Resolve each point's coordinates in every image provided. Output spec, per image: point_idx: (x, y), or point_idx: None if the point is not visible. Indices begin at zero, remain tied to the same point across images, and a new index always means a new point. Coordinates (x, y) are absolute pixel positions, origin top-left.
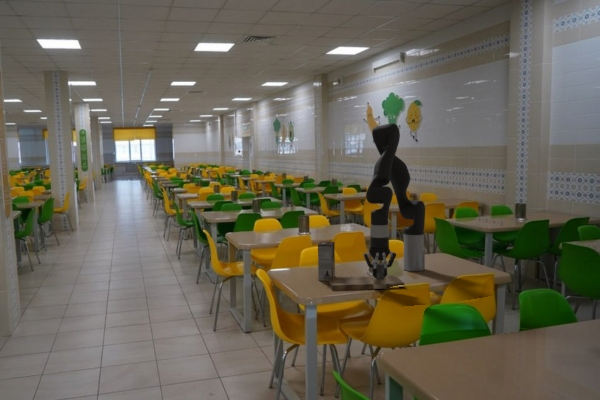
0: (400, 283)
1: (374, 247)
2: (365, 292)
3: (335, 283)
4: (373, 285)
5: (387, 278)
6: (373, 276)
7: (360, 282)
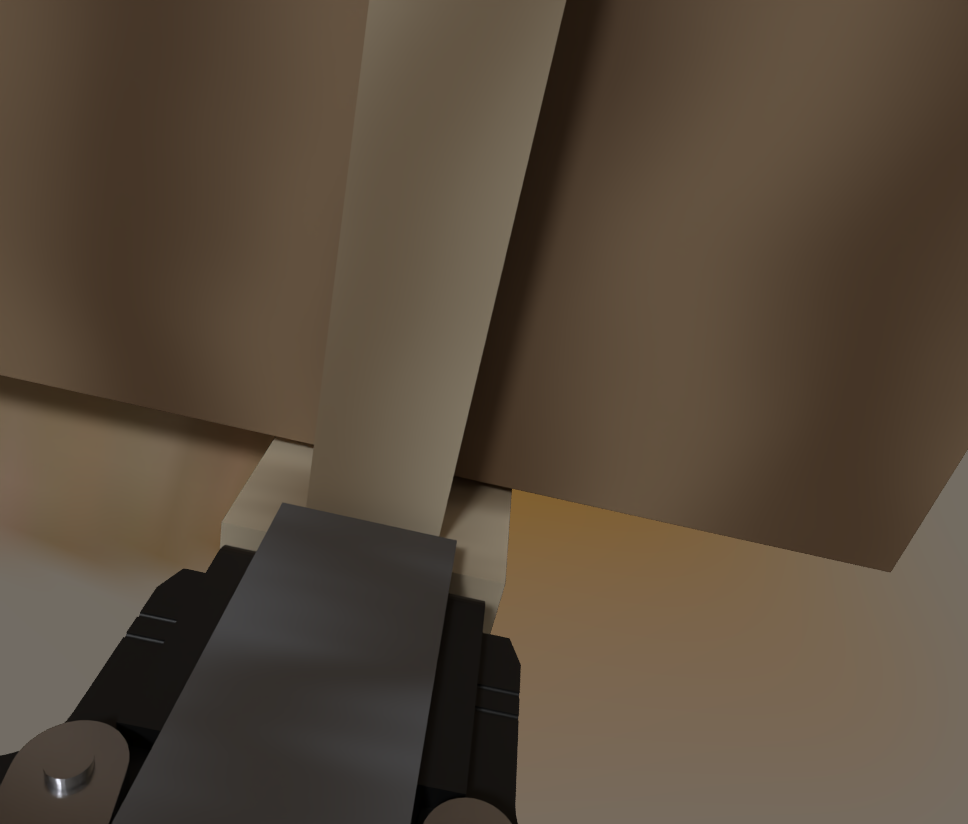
0: (814, 554)
1: None
2: (120, 524)
3: None
4: (275, 443)
5: (859, 20)
6: (354, 147)
7: (18, 211)
